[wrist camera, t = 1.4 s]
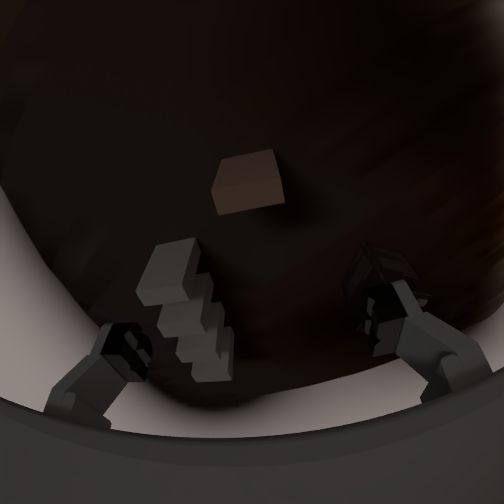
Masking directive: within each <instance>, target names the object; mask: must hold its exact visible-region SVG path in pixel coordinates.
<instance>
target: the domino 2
mask: <svg viewBox="0 0 504 504" xmlns="http://www.w3.org/2000/svg"><path fill="white" fill-rule="evenodd" d="M213 287H214V284H213V282H212V279H211V276H210V274H209V272H208V273H202V274H196V275H195V278H194V283H193V287H192V291H191V295H190V300H189V301H182V302H174V303H166V304H163V307H162V310H161V314H160V317H159V320H158V323H157V327H158V328H159V330H160V331H161V333H162V334H163V336H164V337H178V336H189V335H200V334H206V332H207V326H208V319H209V312H210V306H211V299H212V293H213Z"/></svg>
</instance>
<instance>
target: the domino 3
mask: <svg viewBox="0 0 504 504" xmlns="http://www.w3.org/2000/svg"><path fill="white" fill-rule="evenodd" d="M224 316H225V311H224V309H223V306H222V304H221V302H215V303H211V306H210V312H209V319H208V326H207V332H206V334H200V335H189V336H179V340H178V344H177V349H176V355H177V356H178V357H179V359H180V360H181V362H182V363H184V362H201V361H214V360H221V349H222V338H223V327H224Z"/></svg>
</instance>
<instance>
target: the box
mask: <svg viewBox="0 0 504 504" xmlns="http://www.w3.org/2000/svg"><path fill="white" fill-rule="evenodd" d="M399 280H404V281H406V283H407V285H408V286H409V288H410V290H411V292H412V293H413V295H414V297H415V299H416V300H417V302H418V304H419V306H420V308H421V309H422V308H423V307H424V305H425V304H426V303H427V301H428V300H429V298H430V296H431V295H430V294H429V292H428V291H427V289H426V287H425V286H424V284H423V283H422V281H421V280H420V278H419V277H418V275H417V273H416V272H415V270H414V269H413V267H412V266H411V265H410V263H409V262H408V260H407V259H406V257H405V256H404V254H403V253H399V252H396V251H393V250H389V249H386V248H383V247H379V246H376V245H373V244H369V243H366V242H363V244H362V245H361V247H360V249H359V251H358V253H357V254H356V256H355V258H354V260H353V262H352V264H351V265H350V267H349V269H348V271H347V272H346V274H345V276H344V278H343V279H342V281H341V283H340V284H341V287H342V290H343V293H344V295H345V298H346V301H347V304H348V307H349V310H350V313H351V316H352V319H353V322H354V324H355V328H356V331H359V332H364V329H363V326H362V321H361V306H362V305H363V300H362V290H363V289H365V288H369V287H374V286H378V285H382V284H387V283H391V282H395V281H399Z"/></svg>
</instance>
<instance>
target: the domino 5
mask: <svg viewBox="0 0 504 504" xmlns="http://www.w3.org/2000/svg"><path fill="white" fill-rule="evenodd" d="M211 193H212V196H213V199H214V202H215V206H216V209H217V212H218V215H223V214H228V213H233V212H238V211H243V210H248V209H254V208H259V207H264V206H269V205H275V204H280V203H285V200H284V194H283V189H282V183H281V178H280V174H279V170H278V166H277V163H276V159H275V155H274V152H273V149H270V150H265V151H260V152H255V153H250V154H245V155H240V156H236V157H231V158H227V159H223V160H222V161H221V163H220V166H219V169H218V172H217V175H216V178H215V181H214V184H213V187H212V190H211Z"/></svg>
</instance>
